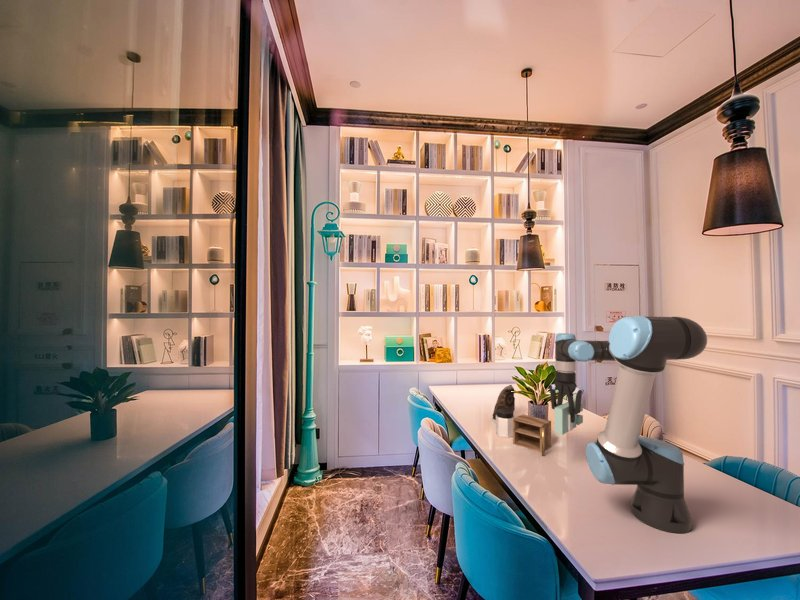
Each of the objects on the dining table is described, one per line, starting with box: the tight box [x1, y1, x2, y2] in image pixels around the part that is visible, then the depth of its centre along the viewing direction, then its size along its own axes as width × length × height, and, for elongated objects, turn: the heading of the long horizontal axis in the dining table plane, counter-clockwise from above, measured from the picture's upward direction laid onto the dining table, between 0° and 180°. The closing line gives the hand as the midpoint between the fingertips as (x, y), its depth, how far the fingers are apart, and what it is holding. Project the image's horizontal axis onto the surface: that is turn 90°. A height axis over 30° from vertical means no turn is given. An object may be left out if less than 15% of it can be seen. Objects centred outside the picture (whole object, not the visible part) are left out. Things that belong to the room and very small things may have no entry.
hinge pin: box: [541, 428, 546, 457], centre depth 153 cm, size 1×1×12 cm
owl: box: [492, 384, 516, 421], centre depth 202 cm, size 13×13×20 cm
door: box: [554, 401, 584, 436], centre depth 144 cm, size 19×5×10 cm, turn 133°
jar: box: [495, 409, 514, 438], centre depth 179 cm, size 9×8×12 cm
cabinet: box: [512, 413, 552, 453], centre depth 165 cm, size 10×14×12 cm
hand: (565, 428), depth 142 cm, fingers closed on door, 3 cm apart
